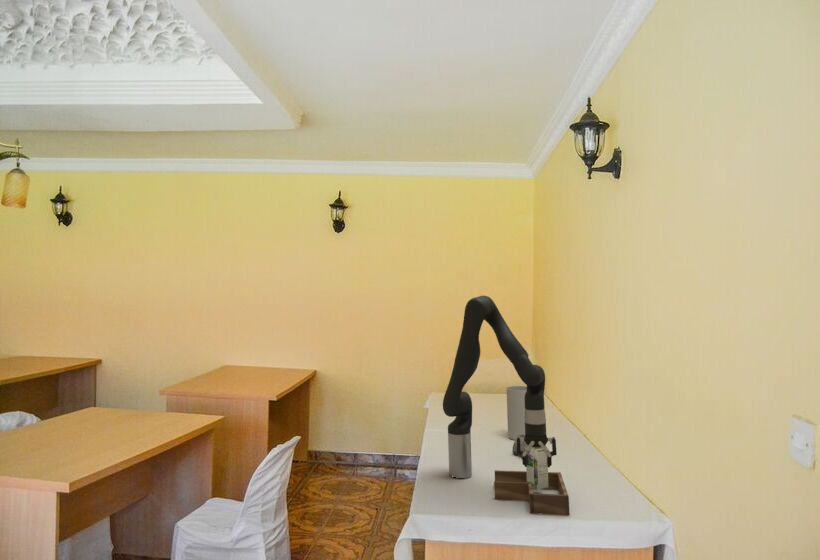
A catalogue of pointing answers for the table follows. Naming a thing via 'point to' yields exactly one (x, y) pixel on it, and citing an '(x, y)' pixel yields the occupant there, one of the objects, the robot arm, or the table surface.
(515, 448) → the mineral rock
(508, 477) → the walnut corridor
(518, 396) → the cylinder vase
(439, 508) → the table surface
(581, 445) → the table surface
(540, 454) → the syrup box
